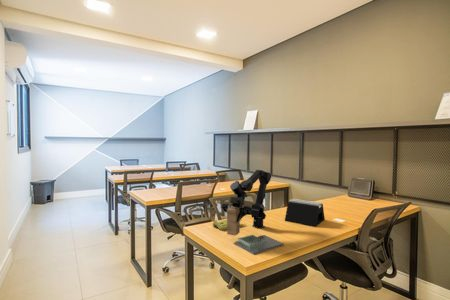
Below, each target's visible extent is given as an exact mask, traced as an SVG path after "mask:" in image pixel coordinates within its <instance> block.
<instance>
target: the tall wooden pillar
mask: <svg viewBox="0 0 450 300" xmlns="http://www.w3.org/2000/svg"><path fill="white" fill-rule="evenodd" d="M239 213H240V211H239V208H236V207H230V208H228V209H227V212H226V218H227V229H226V233H227V235H228V236H233V237H234V236H237V235H239V234H240V233H241V232H240V231H241V230H240V222H237V218H238V215H239Z"/></svg>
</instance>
